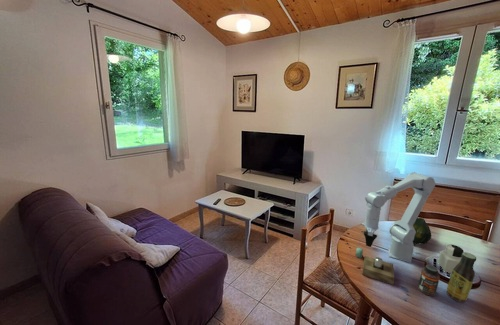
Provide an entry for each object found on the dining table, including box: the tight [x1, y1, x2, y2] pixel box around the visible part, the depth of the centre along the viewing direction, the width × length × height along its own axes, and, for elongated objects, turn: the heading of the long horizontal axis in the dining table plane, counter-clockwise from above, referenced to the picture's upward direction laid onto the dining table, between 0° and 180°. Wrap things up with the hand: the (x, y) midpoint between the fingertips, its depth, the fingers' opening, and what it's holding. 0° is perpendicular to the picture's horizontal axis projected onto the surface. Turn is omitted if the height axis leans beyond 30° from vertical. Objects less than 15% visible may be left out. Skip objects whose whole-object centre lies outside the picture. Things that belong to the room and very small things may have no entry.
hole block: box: [362, 255, 395, 285], centre depth 103 cm, size 12×10×4 cm
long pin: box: [374, 256, 384, 269], centre depth 103 cm, size 3×3×7 cm
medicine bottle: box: [437, 244, 464, 274], centre depth 105 cm, size 7×7×12 cm
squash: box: [402, 217, 432, 245], centre depth 128 cm, size 14×15×15 cm
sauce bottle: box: [446, 251, 477, 303], centre depth 88 cm, size 6×6×20 cm
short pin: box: [355, 247, 364, 259], centre depth 115 cm, size 3×3×4 cm
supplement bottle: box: [417, 264, 440, 297], centre depth 92 cm, size 6×6×11 cm
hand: (368, 242), depth 110 cm, fingers open, 7 cm apart
